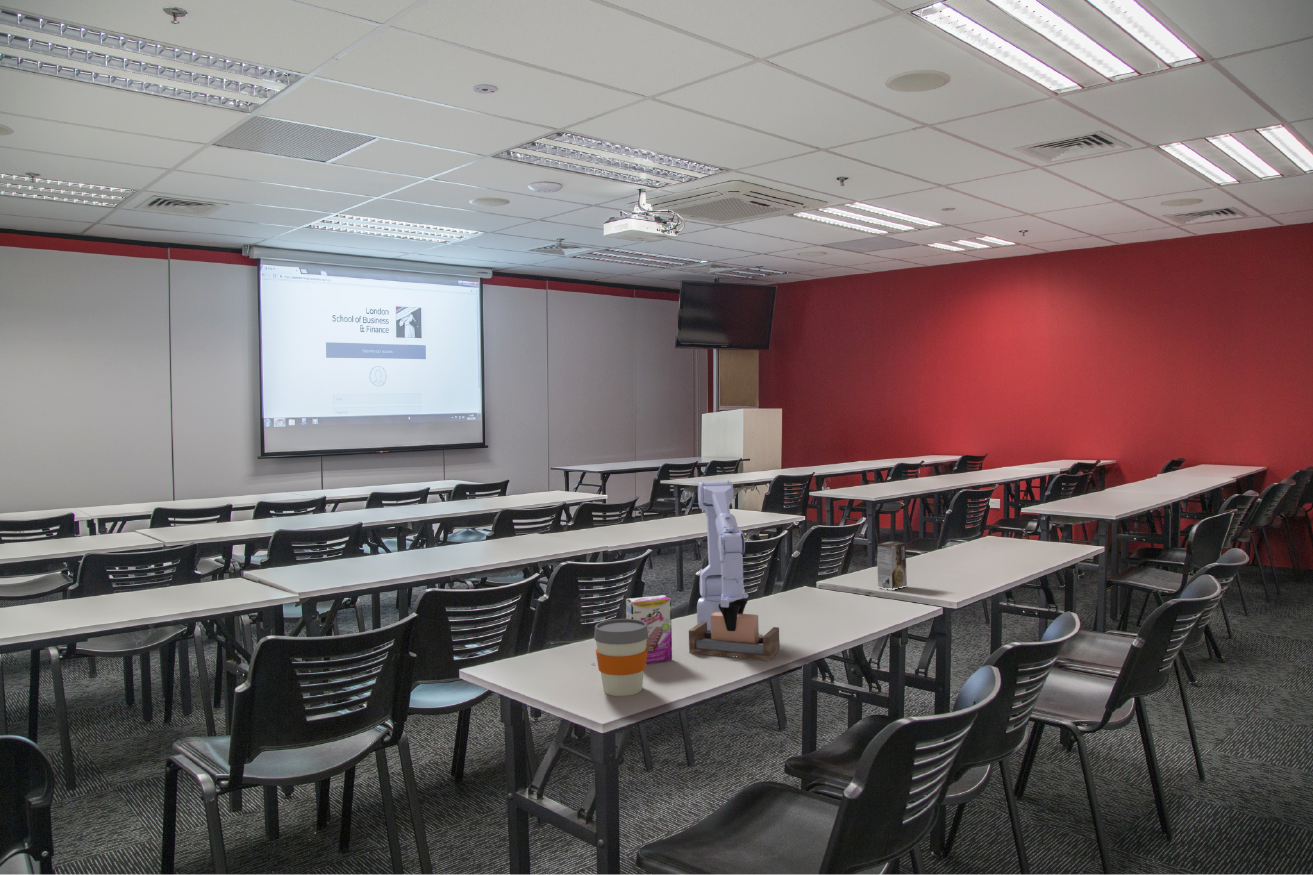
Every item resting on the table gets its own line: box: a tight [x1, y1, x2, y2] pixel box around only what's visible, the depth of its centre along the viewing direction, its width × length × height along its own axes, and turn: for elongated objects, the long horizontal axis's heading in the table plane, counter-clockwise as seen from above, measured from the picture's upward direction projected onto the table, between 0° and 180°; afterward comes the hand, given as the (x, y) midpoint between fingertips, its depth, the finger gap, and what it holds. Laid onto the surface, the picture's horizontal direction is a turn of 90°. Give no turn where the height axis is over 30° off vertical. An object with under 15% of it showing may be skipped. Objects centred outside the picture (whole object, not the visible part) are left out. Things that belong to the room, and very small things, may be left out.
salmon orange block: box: [710, 612, 760, 643], centre depth 212 cm, size 12×4×7 cm, turn 66°
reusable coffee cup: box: [593, 618, 648, 697], centre depth 184 cm, size 13×13×15 cm
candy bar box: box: [625, 594, 673, 665], centre depth 206 cm, size 11×5×16 cm, turn 111°
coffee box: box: [876, 540, 908, 589], centre depth 285 cm, size 9×6×16 cm
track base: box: [688, 621, 781, 661], centre depth 212 cm, size 22×10×6 cm, turn 66°
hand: (733, 628), depth 212 cm, fingers closed on salmon orange block, 4 cm apart
